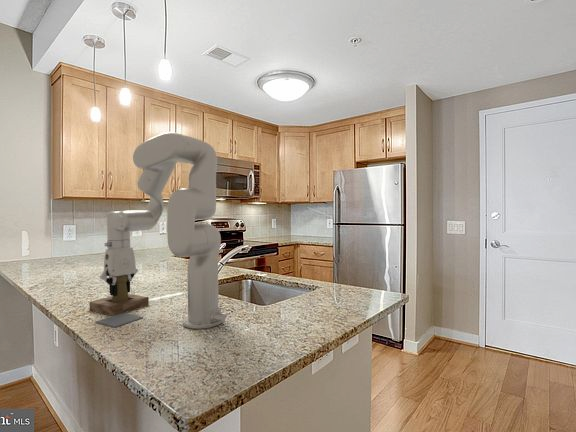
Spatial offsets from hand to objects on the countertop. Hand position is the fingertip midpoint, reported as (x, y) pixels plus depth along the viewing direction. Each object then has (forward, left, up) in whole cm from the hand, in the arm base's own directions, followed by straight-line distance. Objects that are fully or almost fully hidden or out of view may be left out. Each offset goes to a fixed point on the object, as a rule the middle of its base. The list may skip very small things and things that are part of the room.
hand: (120, 293), depth 119 cm
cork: (0, 0, -4) cm, 4 cm away
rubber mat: (-13, +9, -5) cm, 16 cm away
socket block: (0, 0, -5) cm, 5 cm away
